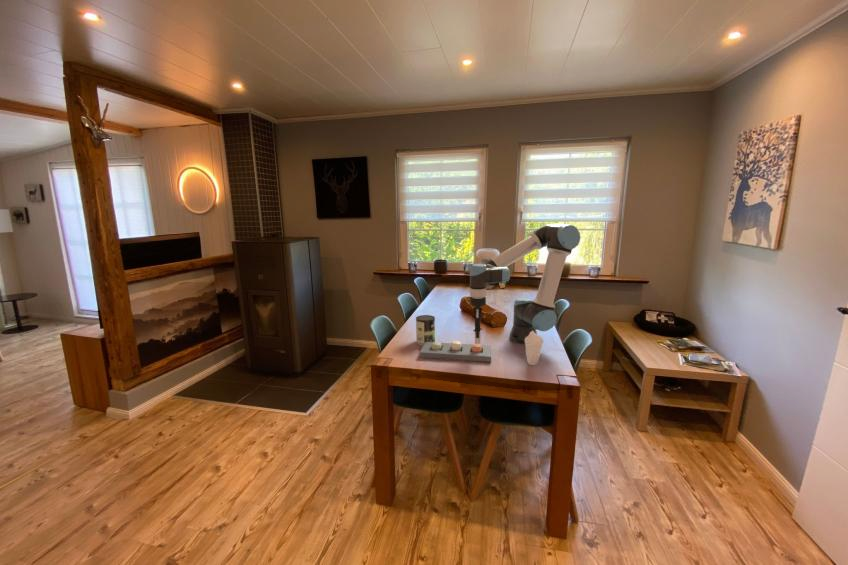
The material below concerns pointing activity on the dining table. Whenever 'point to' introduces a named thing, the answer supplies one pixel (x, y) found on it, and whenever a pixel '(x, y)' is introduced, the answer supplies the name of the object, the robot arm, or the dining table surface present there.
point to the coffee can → (425, 329)
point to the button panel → (456, 353)
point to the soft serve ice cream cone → (533, 347)
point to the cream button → (455, 346)
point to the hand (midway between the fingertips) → (477, 343)
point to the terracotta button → (476, 348)
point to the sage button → (436, 346)
